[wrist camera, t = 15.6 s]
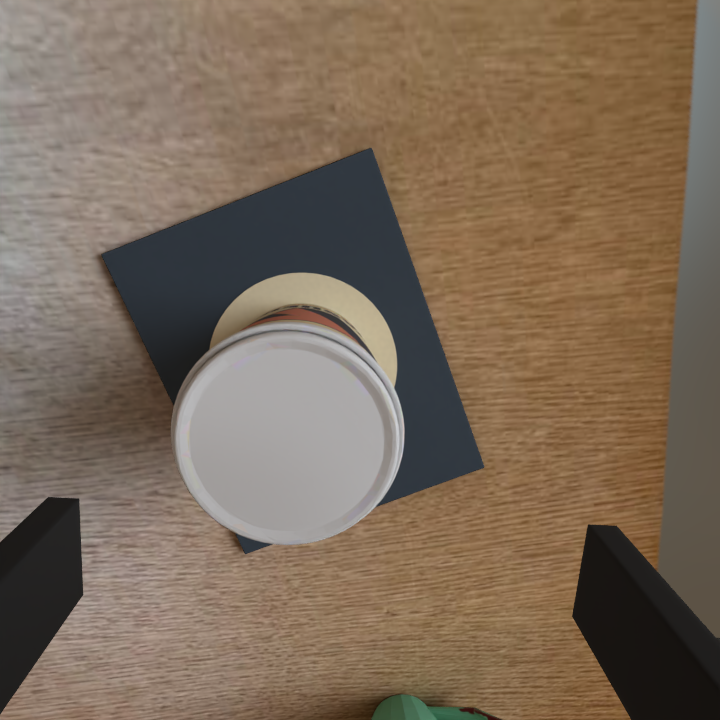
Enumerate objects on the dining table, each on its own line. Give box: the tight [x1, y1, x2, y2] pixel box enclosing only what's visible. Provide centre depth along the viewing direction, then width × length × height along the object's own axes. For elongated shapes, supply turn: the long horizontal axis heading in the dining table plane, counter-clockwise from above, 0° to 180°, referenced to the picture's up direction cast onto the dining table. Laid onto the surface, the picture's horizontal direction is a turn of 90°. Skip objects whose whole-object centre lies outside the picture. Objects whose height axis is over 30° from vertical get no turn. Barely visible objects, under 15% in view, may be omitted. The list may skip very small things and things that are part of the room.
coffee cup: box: [171, 303, 404, 545], centre depth 29 cm, size 9×9×12 cm
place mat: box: [102, 148, 484, 554], centre depth 35 cm, size 20×16×1 cm
